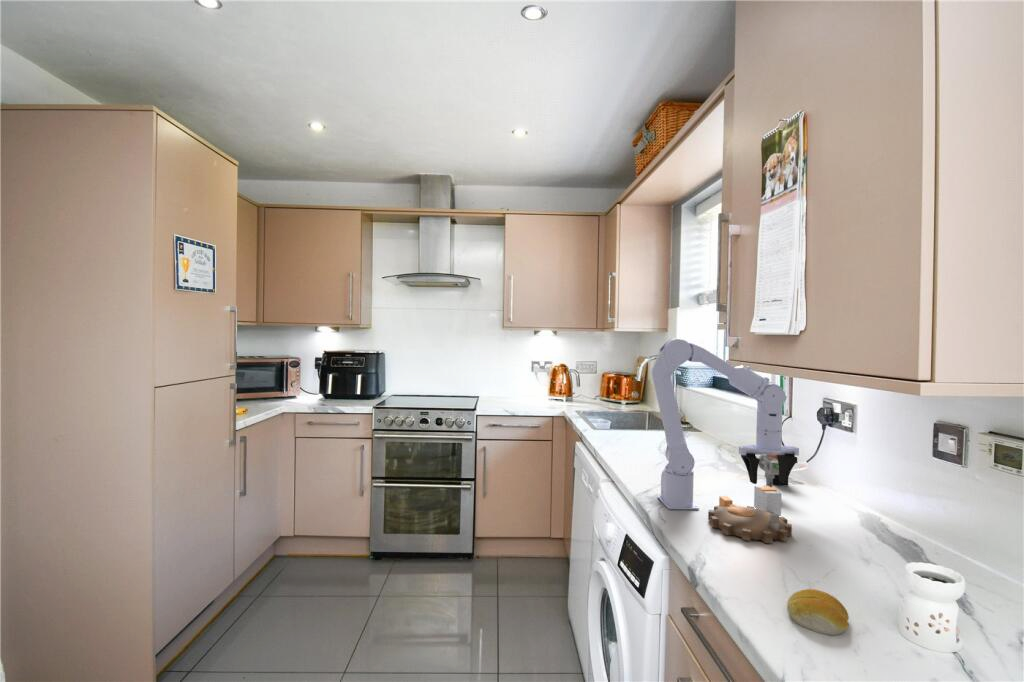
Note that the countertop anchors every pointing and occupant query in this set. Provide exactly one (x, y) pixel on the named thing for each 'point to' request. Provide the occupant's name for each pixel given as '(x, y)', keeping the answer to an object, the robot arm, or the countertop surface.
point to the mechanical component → (769, 468)
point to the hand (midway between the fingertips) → (768, 482)
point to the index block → (724, 501)
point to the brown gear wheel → (750, 523)
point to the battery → (776, 479)
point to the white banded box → (767, 499)
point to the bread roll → (818, 612)
